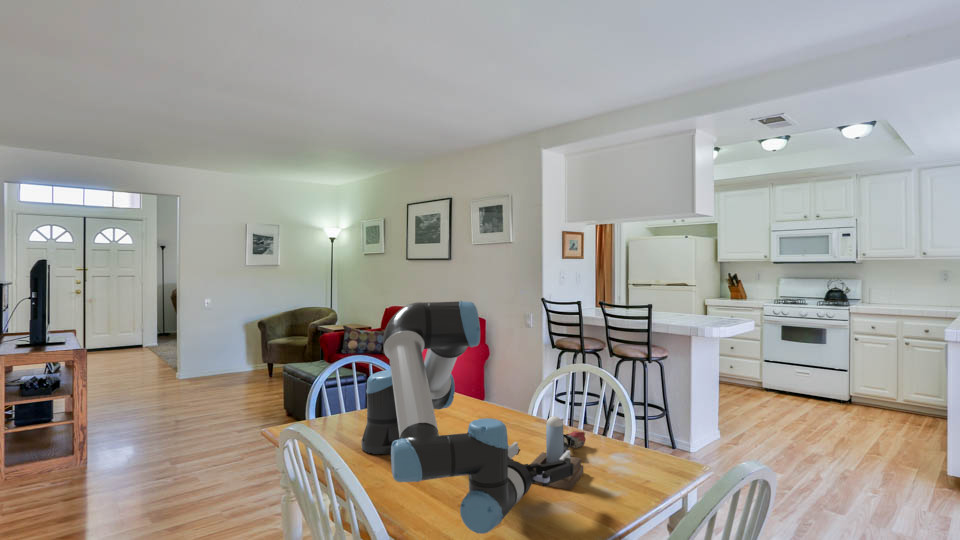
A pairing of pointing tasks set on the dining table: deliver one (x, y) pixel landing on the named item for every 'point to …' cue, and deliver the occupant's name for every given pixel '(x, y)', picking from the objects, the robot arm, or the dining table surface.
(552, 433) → the cylinder
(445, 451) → the robot arm
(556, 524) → the dining table surface
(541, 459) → the cradle
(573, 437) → the figurine
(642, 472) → the dining table surface
